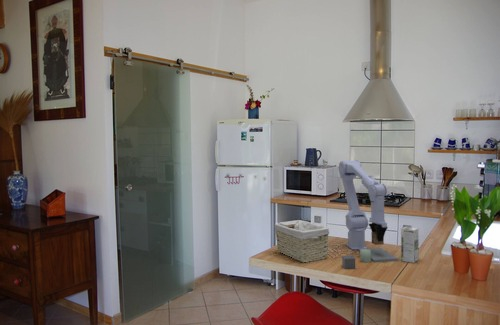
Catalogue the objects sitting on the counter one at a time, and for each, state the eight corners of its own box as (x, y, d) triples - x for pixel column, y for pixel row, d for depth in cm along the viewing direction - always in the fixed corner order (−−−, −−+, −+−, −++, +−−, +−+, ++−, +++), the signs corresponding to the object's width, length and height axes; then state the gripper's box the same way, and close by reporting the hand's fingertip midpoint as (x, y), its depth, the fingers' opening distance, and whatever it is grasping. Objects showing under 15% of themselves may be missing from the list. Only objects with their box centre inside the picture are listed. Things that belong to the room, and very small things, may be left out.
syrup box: (405, 258, 177) (404, 226, 177) (419, 260, 174) (418, 227, 173) (401, 261, 173) (400, 228, 173) (415, 263, 169) (414, 229, 169)
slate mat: (358, 251, 191) (358, 249, 191) (380, 250, 192) (380, 248, 192) (374, 262, 173) (374, 259, 173) (398, 260, 174) (398, 258, 174)
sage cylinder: (359, 260, 177) (358, 249, 176) (368, 259, 177) (368, 248, 177) (362, 263, 172) (362, 251, 172) (372, 262, 173) (372, 251, 172)
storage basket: (331, 259, 180) (330, 226, 179) (302, 264, 172) (301, 231, 172) (301, 248, 201) (300, 219, 200) (273, 252, 193) (272, 222, 193)
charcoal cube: (342, 266, 169) (342, 255, 169) (352, 265, 169) (352, 255, 169) (344, 269, 164) (344, 258, 164) (355, 268, 164) (355, 258, 164)
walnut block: (371, 242, 183) (371, 232, 183) (379, 242, 183) (379, 231, 183) (375, 244, 179) (374, 233, 179) (383, 244, 179) (383, 233, 179)
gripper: (363, 208, 187) (363, 237, 188) (375, 213, 173) (376, 244, 173) (377, 207, 188) (377, 236, 189) (391, 212, 174) (391, 243, 174)
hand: (378, 240), depth 181 cm, fingers closed on walnut block, 4 cm apart
